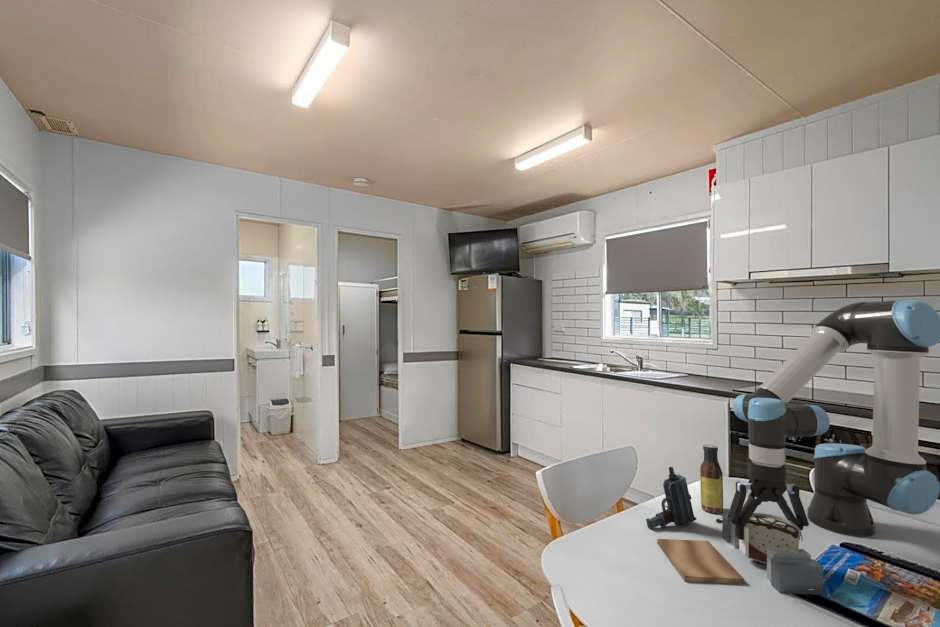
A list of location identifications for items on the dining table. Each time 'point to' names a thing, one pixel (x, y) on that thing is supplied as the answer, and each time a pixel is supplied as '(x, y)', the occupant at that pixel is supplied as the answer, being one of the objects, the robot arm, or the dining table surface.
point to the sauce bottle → (711, 481)
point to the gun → (674, 503)
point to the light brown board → (699, 561)
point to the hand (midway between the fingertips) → (767, 553)
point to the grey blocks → (784, 565)
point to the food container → (770, 535)
